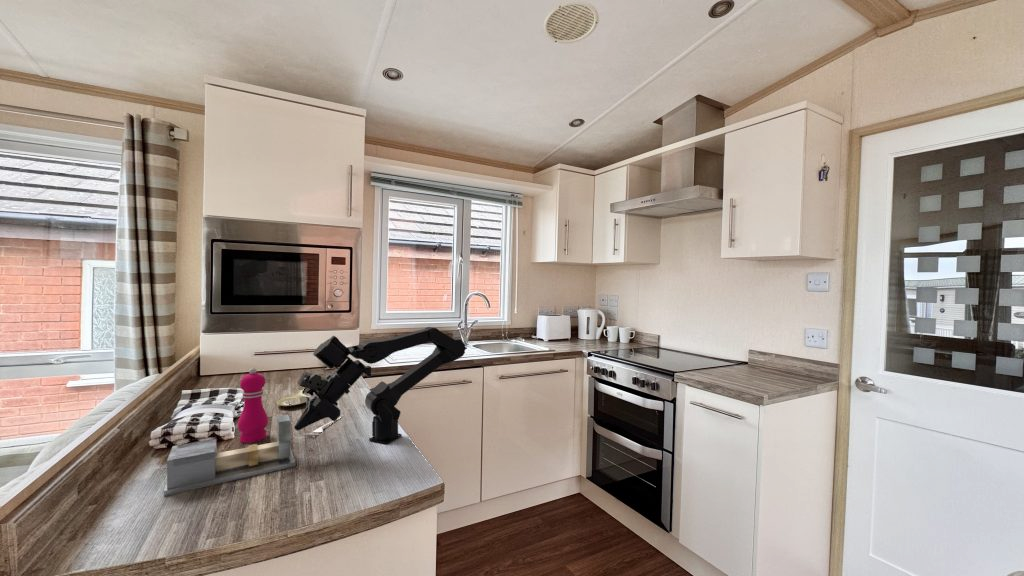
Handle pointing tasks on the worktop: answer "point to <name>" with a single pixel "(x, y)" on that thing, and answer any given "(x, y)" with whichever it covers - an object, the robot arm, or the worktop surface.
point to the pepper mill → (252, 408)
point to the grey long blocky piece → (209, 467)
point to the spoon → (296, 395)
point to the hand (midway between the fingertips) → (295, 429)
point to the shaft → (258, 449)
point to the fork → (321, 428)
